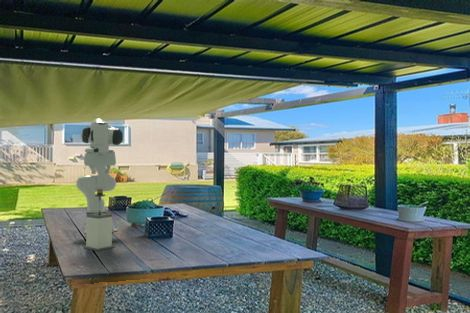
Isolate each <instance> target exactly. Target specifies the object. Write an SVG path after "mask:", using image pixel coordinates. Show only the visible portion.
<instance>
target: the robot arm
mask: <svg viewBox="0 0 470 313" xmlns="http://www.w3.org/2000/svg"><path fill="white" fill-rule="evenodd" d="M80 139H81V140H82V142H83V143H85V144H90V145H89V147H87V148H85V149H84V152H85V154H84V158H83V161H84V162H83V164H84V166H86V167H89V170H90V171H91V174H92V175H81V176H79V177H78V178H77V179H76V182H75V183H76V188H77V190H78V191H80V192H81V193H82V194H83V195H84V196H85V198H86V204H87V210H86V211H87V212H86V215H87V214H93V213H99V197H97V196H95V195H96V194H97V189H103V193H104V192H106V193H107V192H111V191H114V190H115V188H116V187H117V181H116V178H115V177H114V176H112V175H111V174H110V173H109V172H110V169H112V168H111V166H116V163H117V161H116V159H117V158H116V153H115V152H116V151H114V150H112V149H111V150H110V149H109V148H110V145H112V146H119V145H120V144H122V142H123V141H124V134H123V131H122V130H121V128H117V127H116V126H114V125H111V124H109V123H108V122H107V121H106V120H104V119H102V118H95V119H93V120H92V122H91V123H90V126H89V125H88V126H87V127H84V128H83V129H82V131H81V133H80ZM96 173H97V175H95V174H96ZM101 213H108V214H110V212H109V211H105V200H104V198H103V197H101ZM114 223H115V222H113V221H112V233H113V232H116V231H117V232H118V228H115V225H114ZM86 228H87V223H86V224H85V230H84V234H86Z"/></svg>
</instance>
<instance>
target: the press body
mask: <svg viewBox="0 0 470 313" xmlns="http://www.w3.org/2000/svg"><path fill="white" fill-rule="evenodd" d="M108 213H109V212H108ZM108 213H101V215H98V214H99V213H93V214H87V213H86V224H87V228H86V227H85V229H86V233H85V234H86V238H85V240H86V241H85V246H83V249H85V250H91V251H95V252H101V251H105V250H109V249H114V248H115V245H112V243H113V242H112V241H113V239H112V238H113V232H112V222H113V214H112V213H109V214H108Z"/></svg>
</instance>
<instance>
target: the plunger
mask: <svg viewBox="0 0 470 313" xmlns="http://www.w3.org/2000/svg"><path fill="white" fill-rule="evenodd" d="M95 194H96V195H95V196H97V197H99V214H98V215H101V198H103V197H106V194H104V192H103V189H97V192H96V193H95Z"/></svg>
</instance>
